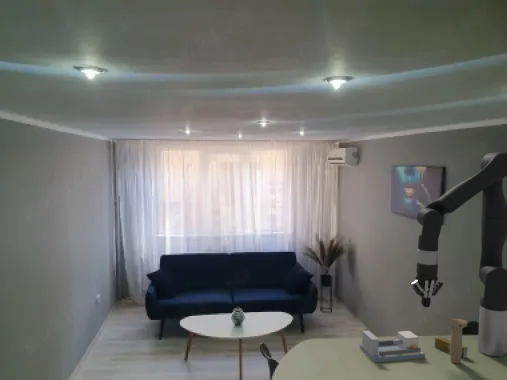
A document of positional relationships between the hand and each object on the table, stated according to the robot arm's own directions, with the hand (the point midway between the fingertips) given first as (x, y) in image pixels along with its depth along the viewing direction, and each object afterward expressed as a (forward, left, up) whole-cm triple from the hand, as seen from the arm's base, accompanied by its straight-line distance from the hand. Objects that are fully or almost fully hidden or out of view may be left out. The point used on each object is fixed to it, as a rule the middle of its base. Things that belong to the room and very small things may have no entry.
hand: (425, 306), depth 166 cm
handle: (-6, +11, -17) cm, 21 cm away
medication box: (-9, +3, -17) cm, 20 cm away
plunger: (+8, +1, -15) cm, 18 cm away
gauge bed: (+13, 0, -17) cm, 22 cm away
